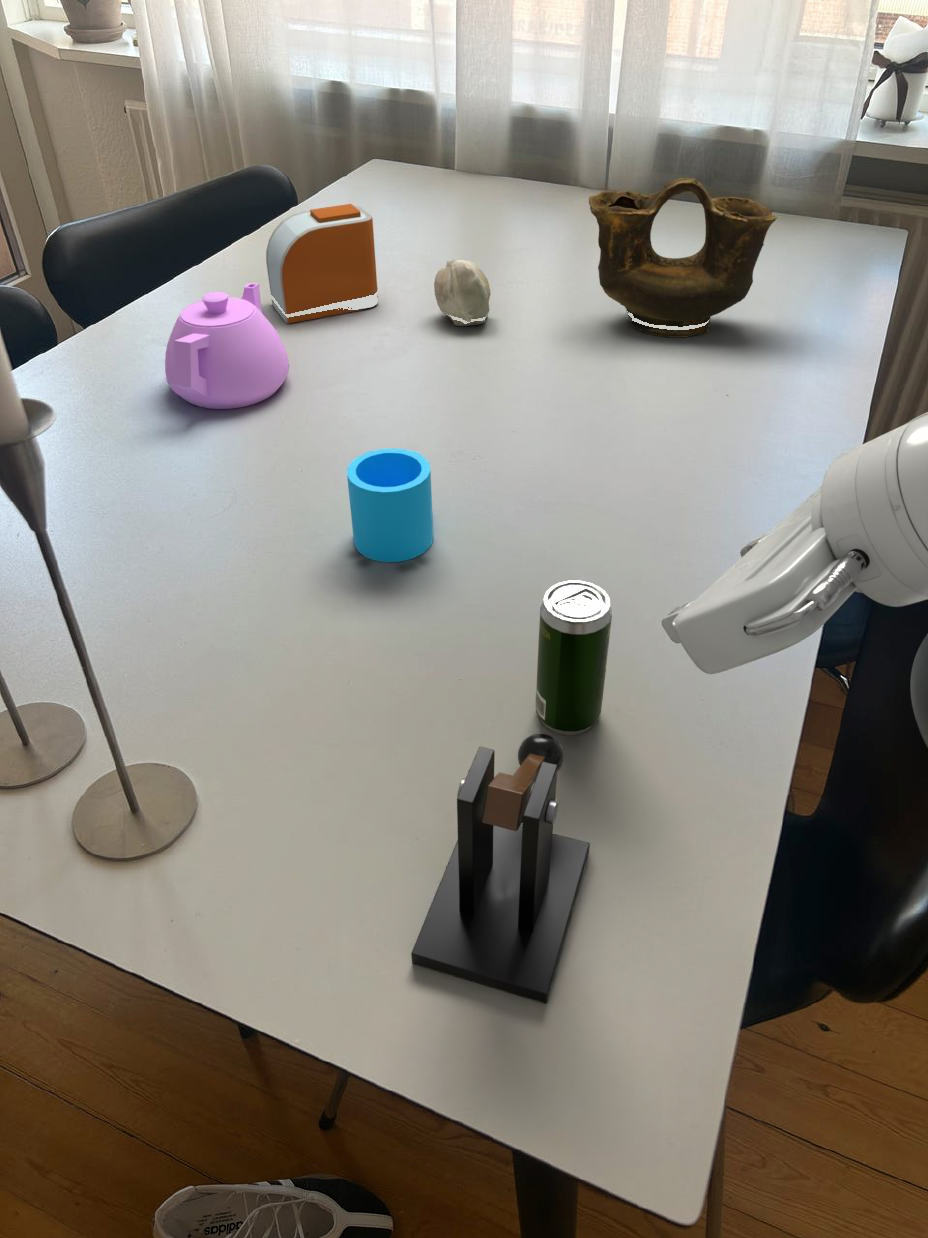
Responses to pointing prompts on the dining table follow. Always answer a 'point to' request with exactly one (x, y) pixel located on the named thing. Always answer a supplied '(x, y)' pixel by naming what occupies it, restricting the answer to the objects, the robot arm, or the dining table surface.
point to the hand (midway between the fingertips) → (712, 590)
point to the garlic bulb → (462, 291)
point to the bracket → (504, 892)
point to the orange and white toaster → (321, 260)
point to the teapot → (225, 352)
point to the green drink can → (572, 656)
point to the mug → (391, 504)
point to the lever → (519, 782)
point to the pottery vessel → (677, 283)
